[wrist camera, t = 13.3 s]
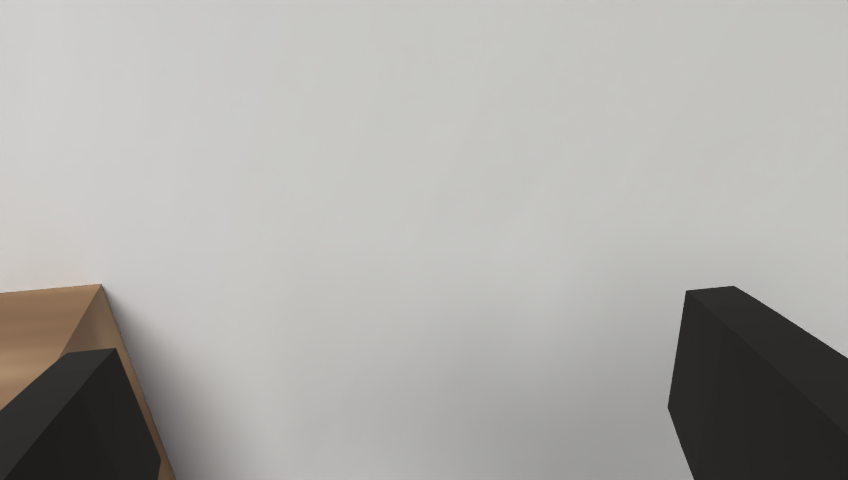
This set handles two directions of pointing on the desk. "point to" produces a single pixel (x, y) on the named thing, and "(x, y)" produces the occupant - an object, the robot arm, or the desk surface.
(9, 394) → the pusher bar
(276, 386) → the desk surface
